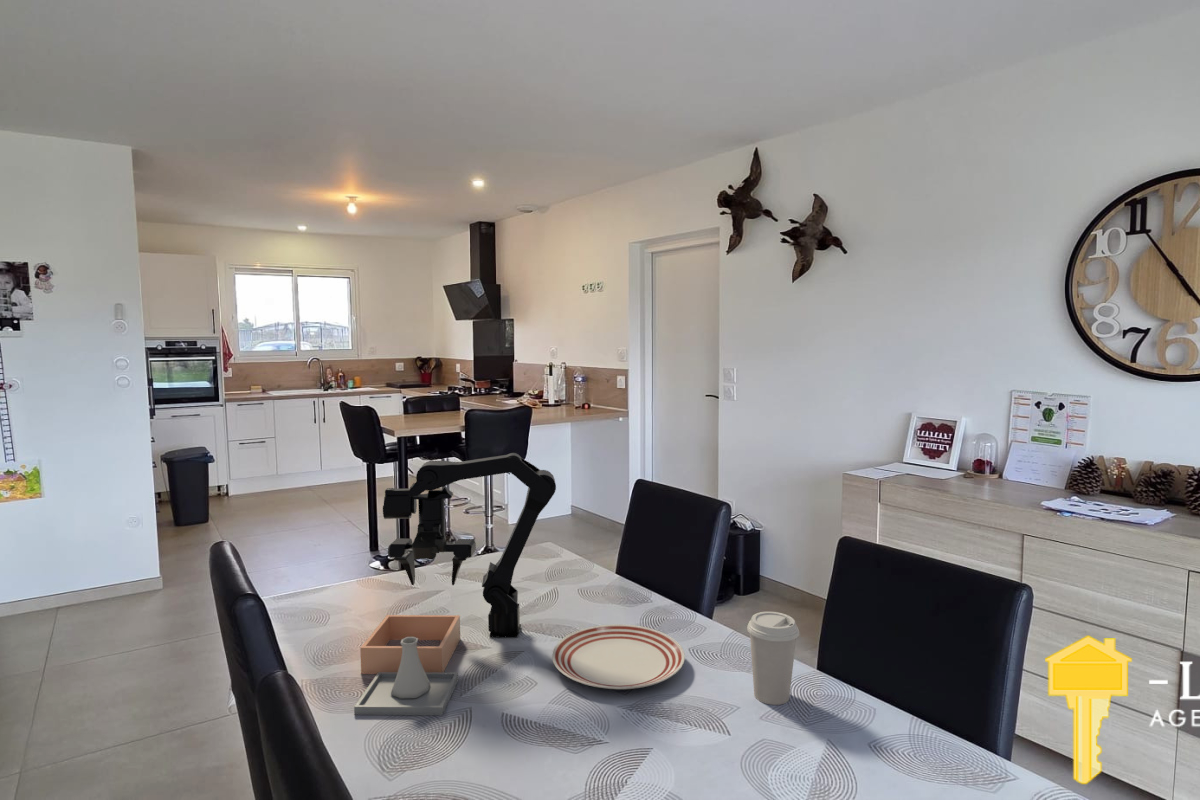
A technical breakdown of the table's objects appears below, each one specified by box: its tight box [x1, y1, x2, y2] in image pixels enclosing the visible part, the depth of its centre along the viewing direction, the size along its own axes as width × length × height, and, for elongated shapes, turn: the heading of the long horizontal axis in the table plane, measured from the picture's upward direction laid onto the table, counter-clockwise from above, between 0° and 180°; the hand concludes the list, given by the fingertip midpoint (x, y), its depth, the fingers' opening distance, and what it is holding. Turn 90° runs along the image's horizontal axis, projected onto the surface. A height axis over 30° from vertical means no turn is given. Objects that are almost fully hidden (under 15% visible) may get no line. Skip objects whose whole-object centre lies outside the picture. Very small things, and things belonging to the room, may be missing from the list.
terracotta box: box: [359, 614, 461, 675], centre depth 147 cm, size 17×17×6 cm
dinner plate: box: [551, 623, 686, 690], centre depth 143 cm, size 28×27×3 cm
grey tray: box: [353, 672, 459, 716], centre depth 131 cm, size 16×13×2 cm
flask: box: [390, 637, 430, 699], centre depth 131 cm, size 7×7×10 cm
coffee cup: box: [746, 611, 800, 706], centre depth 130 cm, size 10×10×15 cm
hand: (433, 584), depth 157 cm, fingers open, 9 cm apart
